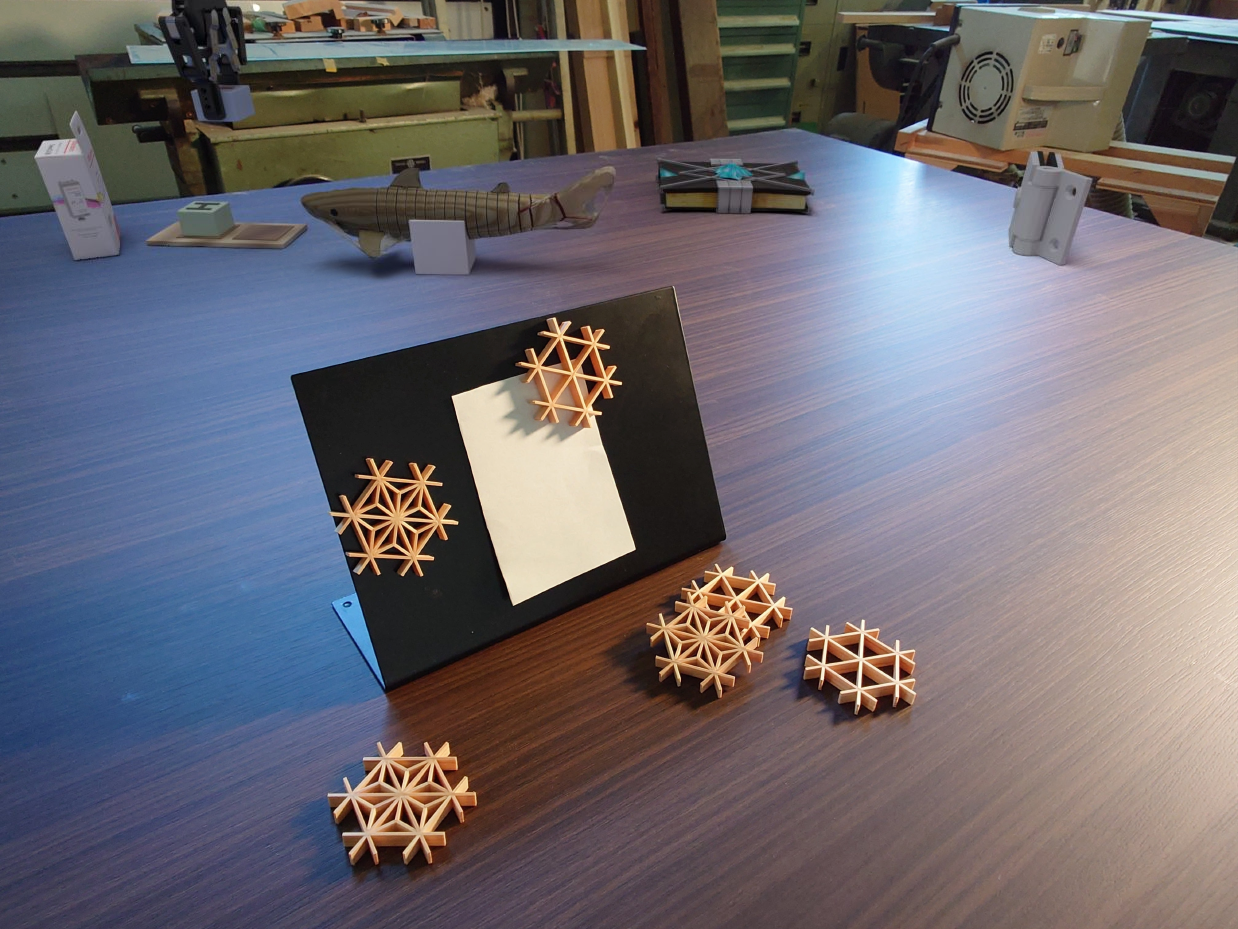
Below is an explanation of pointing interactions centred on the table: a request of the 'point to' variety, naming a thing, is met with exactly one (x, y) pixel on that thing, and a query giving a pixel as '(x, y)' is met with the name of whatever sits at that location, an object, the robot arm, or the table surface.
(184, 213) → the tile
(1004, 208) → the table surface
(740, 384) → the table surface
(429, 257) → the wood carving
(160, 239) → the word board
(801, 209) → the book
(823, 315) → the table surface
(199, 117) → the tile
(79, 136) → the ink cartridge box
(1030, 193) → the hinge
